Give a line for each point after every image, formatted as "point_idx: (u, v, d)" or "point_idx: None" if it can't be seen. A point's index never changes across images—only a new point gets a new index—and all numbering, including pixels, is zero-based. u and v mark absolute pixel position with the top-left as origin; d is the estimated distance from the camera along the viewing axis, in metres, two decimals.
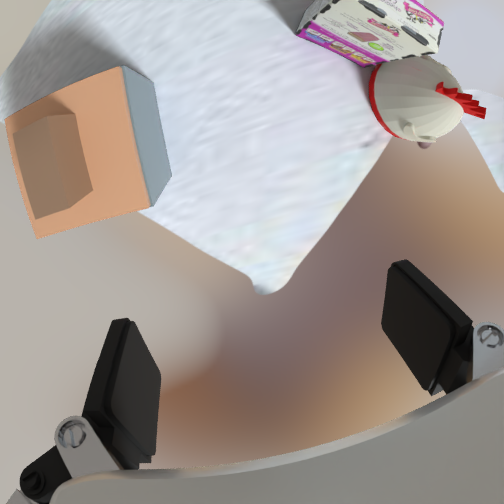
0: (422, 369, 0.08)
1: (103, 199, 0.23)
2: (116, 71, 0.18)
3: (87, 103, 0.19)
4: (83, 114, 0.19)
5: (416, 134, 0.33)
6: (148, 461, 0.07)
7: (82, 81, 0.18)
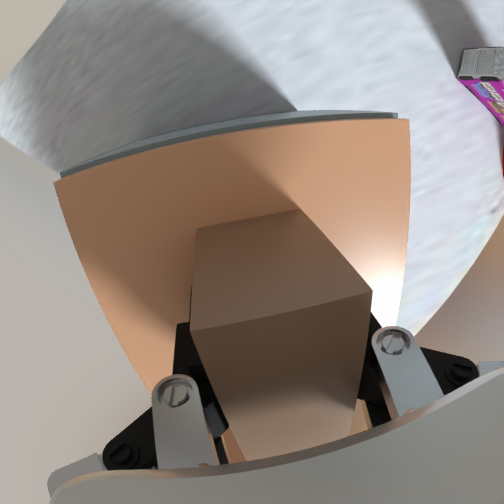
0: None
1: None
2: (404, 129, 0.09)
3: (335, 188, 0.10)
4: (322, 213, 0.10)
5: None
6: None
7: (326, 127, 0.09)
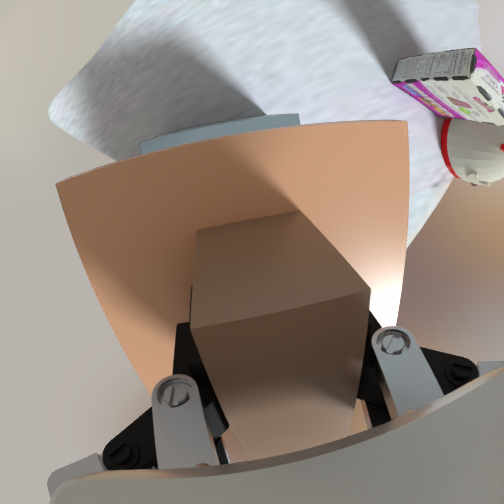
0: None
1: None
2: (402, 131, 0.09)
3: (335, 190, 0.10)
4: (321, 215, 0.10)
5: (477, 180, 0.36)
6: None
7: (325, 129, 0.09)
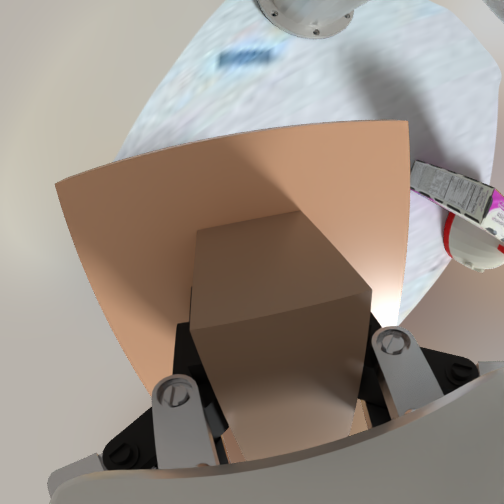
0: None
1: None
2: (403, 130, 0.09)
3: (335, 190, 0.10)
4: (322, 215, 0.10)
5: (472, 268, 0.41)
6: None
7: (326, 128, 0.09)
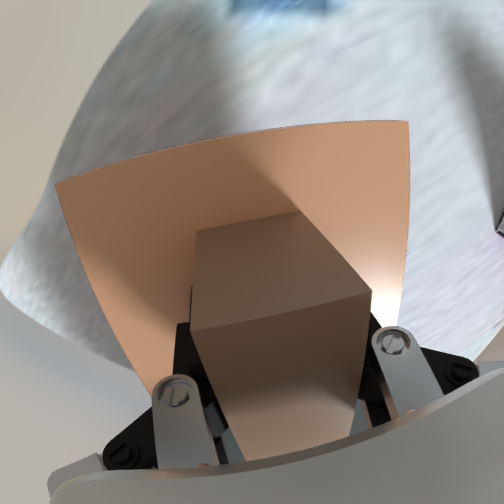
0: None
1: None
2: (403, 131, 0.09)
3: (335, 191, 0.10)
4: (322, 215, 0.10)
5: None
6: None
7: (326, 129, 0.09)
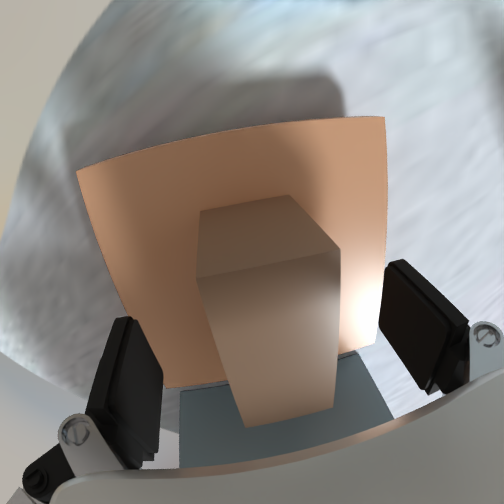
0: (419, 368, 0.08)
1: None
2: (380, 125, 0.11)
3: (319, 177, 0.11)
4: (308, 199, 0.12)
5: None
6: (151, 459, 0.07)
7: (310, 125, 0.10)
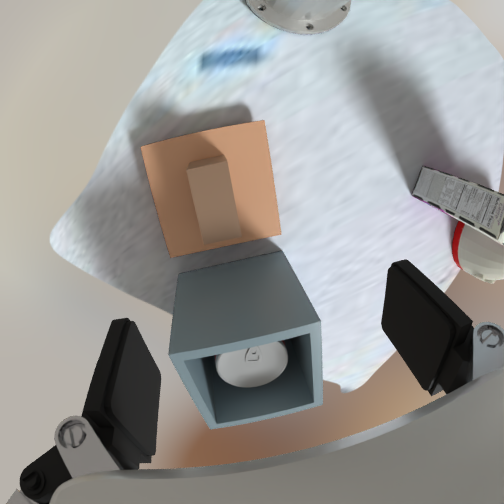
0: (422, 369, 0.08)
1: (244, 226, 0.32)
2: (262, 124, 0.27)
3: (236, 147, 0.28)
4: (232, 156, 0.28)
5: (483, 279, 0.38)
6: (148, 461, 0.07)
7: (231, 127, 0.27)
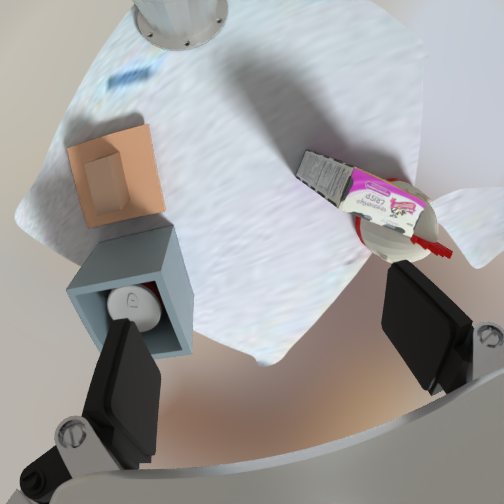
0: (423, 368, 0.08)
1: (136, 205, 0.39)
2: (145, 127, 0.35)
3: (127, 145, 0.35)
4: (125, 152, 0.36)
5: (391, 261, 0.45)
6: (148, 461, 0.07)
7: (124, 131, 0.34)
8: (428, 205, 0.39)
